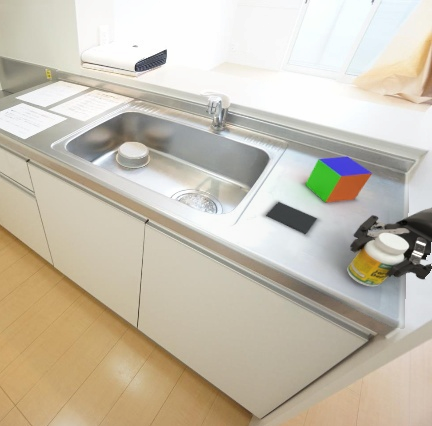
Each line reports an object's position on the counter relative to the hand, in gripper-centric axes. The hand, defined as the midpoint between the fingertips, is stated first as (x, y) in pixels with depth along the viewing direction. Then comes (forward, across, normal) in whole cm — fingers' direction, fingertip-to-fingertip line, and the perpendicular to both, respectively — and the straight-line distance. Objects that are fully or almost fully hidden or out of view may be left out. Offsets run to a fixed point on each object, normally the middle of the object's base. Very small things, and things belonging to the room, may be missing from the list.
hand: (372, 259), depth 48 cm
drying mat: (-6, -18, +7) cm, 20 cm away
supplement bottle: (-3, 0, +6) cm, 7 cm away
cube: (-23, -22, +7) cm, 32 cm away
